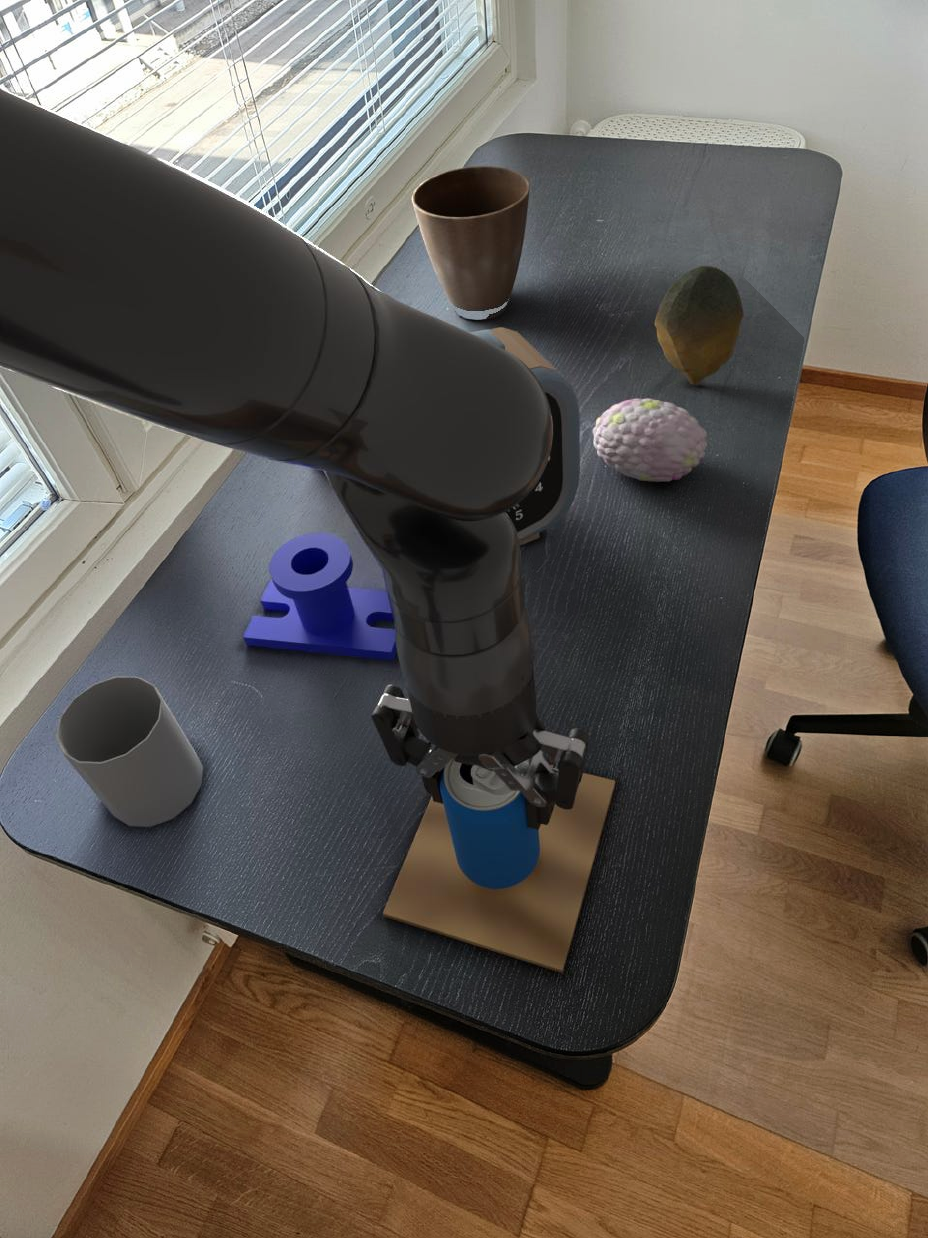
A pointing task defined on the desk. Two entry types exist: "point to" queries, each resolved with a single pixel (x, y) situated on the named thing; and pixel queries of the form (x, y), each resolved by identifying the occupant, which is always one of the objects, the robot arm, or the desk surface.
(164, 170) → the robot arm
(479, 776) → the beverage can
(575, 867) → the cork mat
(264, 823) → the desk surface
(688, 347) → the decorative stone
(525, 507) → the alarm clock
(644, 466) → the decorative item
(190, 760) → the cup
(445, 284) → the flower pot
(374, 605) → the mount
